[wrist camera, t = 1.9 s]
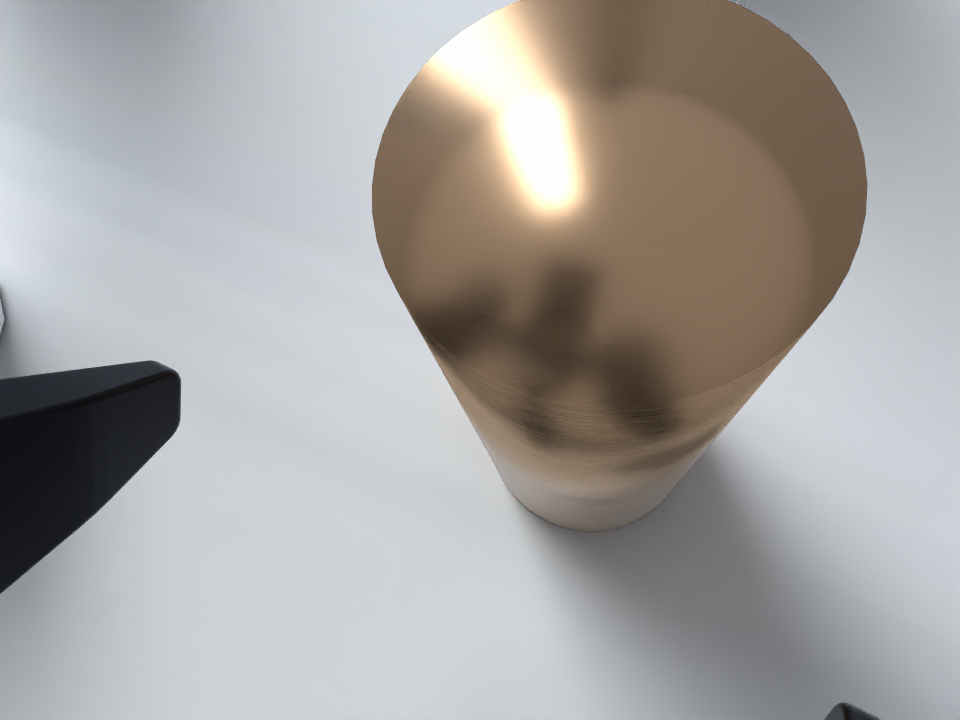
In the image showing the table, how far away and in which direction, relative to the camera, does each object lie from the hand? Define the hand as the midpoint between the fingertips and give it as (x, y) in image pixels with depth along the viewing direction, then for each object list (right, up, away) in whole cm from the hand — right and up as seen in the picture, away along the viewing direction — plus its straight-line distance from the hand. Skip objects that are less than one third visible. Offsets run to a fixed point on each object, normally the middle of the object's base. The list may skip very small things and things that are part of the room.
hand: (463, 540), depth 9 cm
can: (+3, 0, +11) cm, 12 cm away
